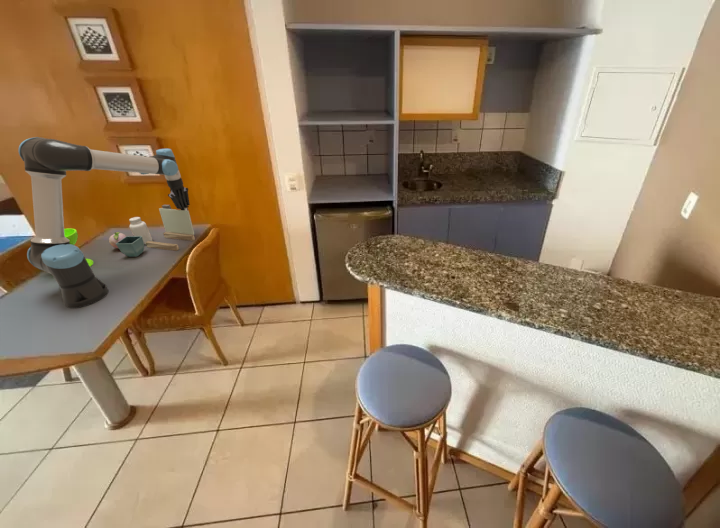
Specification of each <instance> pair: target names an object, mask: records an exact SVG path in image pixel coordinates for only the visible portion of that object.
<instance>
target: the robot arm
mask: <svg viewBox="0 0 720 528" xmlns="http://www.w3.org/2000/svg"><path fill="white" fill-rule="evenodd" d="M17 152H18V154H19V157H20V159H21V160H22V161H23V162H24V171H25V173H27V174H28V175H29V176H30V179H31V180H30V181H31V194H32V206H33V207H32V208H33V219H34V220H33V222H34V230H35V235H34V237H32V238H31V239H30V247H29V248H28V249H27V252H26V257H27V260H28V262H29V263H30V264H31V265H32V266H33V267H35V268H36V269H38V270H40V271H42V272H43V271H44V272H45V273H48V274H50V275H52V277H53V279H54V280H55V281H56V283H57V285H58V286H59V288H60V292H61V300H62V302H63V304H64V306H65V307H66V308H70V309H76V308H83V307H86V306H89V305H92V304H95V303H97V302H98V301H100V300H102V299H104V297H106V296H107V295H108V293H109V289H108V286H107V285H106V284H105V283H104V282H103V281H101V280H100V279H99V278H98V277H96V275H95V274H94V271H93V269H92V268H91V266H89V264H88V262H87V261H86V259H87V258H86V257H85V254H84V252H83V251H82V250H81V249H80V248H79V247H78V246H77V245H76V244H75V245H72V244H70V240H69V239H67V238H66V237H65V236H64V229H65V222H64V221H65V218H64V203H63V202H64V201H63V185H62V180H63V179H64V178H66V177H67V172H68V171H69V172H70V171H73V172H74V171H81V172H83V171H85V172H90V171H92V170H104V171H114V172H115V171H116V172H127V173H138V174H140V175H161V176H164V178H165V180H166V183H167V187H169V190H170V191H169V192H170V193H168V194H167V196H168V197H169V198H170V200H171V201H172V203H173V204H174V206H175V207H176V210H186V211H189V206H190V205H191V204H190V197H189V188H188V187H185V186H184V181H183V178H182V176H181V173H180V170H179V166H178V164H177V161H176V157H175V155H174V152H173V150H172V148H159V149H156V150H155V153H156V154H155V155H151V156H143V155H135V154H127V153H122V152H112V151H107V150H105V151H103V150H98V149H91V148H89V147H88V146H87V145H80V144H76V143H71V142H67V141H63V140H60V139H55V138H45V137H39V136H36V137H29V138H27V139H25V140H23V141H22V142H21V143H20V144H19V146H18V150H17Z"/></svg>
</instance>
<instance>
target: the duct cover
mask: <svg viewBox="0 0 720 528" xmlns="http://www.w3.org/2000/svg"><path fill="white" fill-rule="evenodd" d="M158 210H159V215H160V216H161V217H160V218H161V221H162V225H163V227H164V230H165V232H175V233H181V234H191V235H195V231H194V227H193V223H192V218H191V215H190V211H189V210H188V211H186V210H181V209H173V208H171V209H163V208H162V207H160V208H158Z"/></svg>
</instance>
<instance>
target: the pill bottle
mask: <svg viewBox="0 0 720 528" xmlns="http://www.w3.org/2000/svg"><path fill="white" fill-rule="evenodd" d="M128 221H129V223H130V224H129V229H130V232H131V233H132V236H142V238H143V242H144V246H147V245H146V243H145V242H147V241H153V237H152V234H151V232H150V230H149V227H148V226H147V223H146V222H145V221H142V219H141V217H140V216H134V217H131V218H129V220H128ZM153 242H154V241H153Z"/></svg>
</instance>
